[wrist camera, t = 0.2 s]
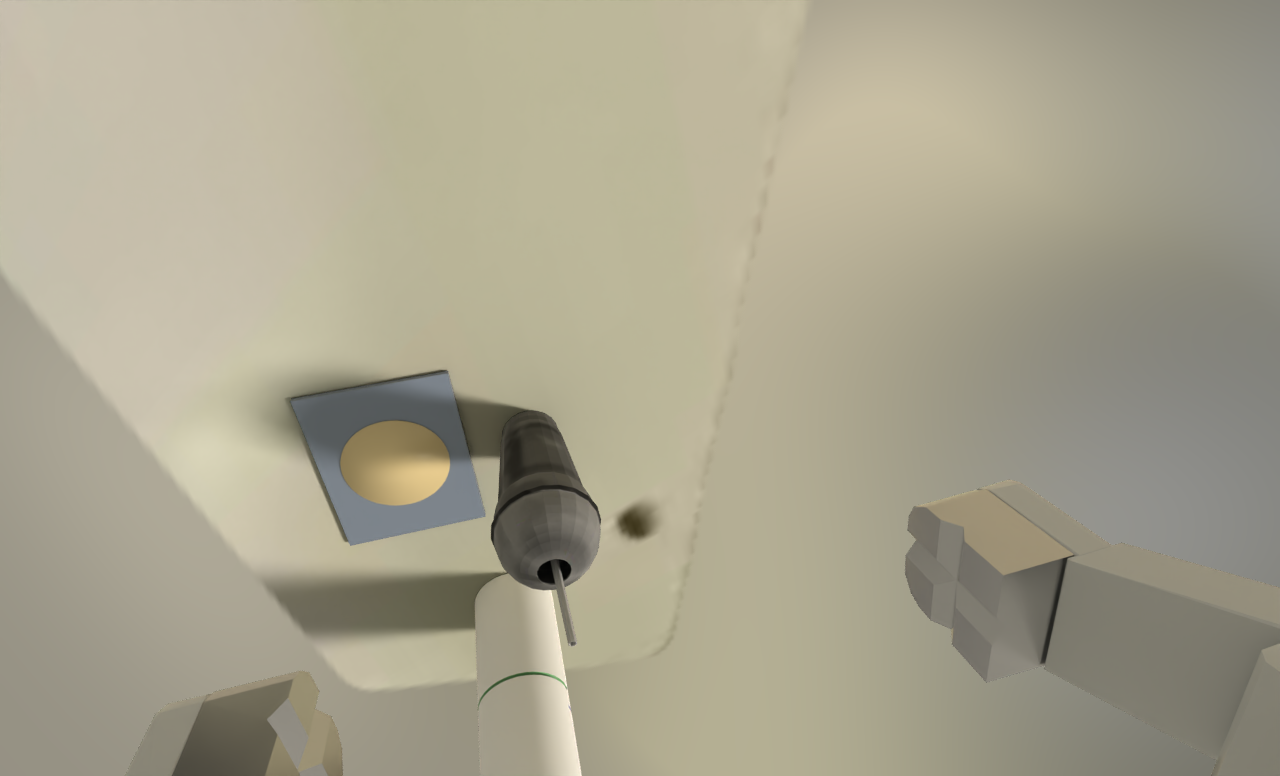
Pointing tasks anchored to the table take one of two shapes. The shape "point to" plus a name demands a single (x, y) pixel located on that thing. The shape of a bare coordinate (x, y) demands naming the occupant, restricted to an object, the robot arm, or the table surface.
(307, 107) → the table surface
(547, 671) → the cylindrical container
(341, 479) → the card
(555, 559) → the beverage cup
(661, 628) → the table surface
